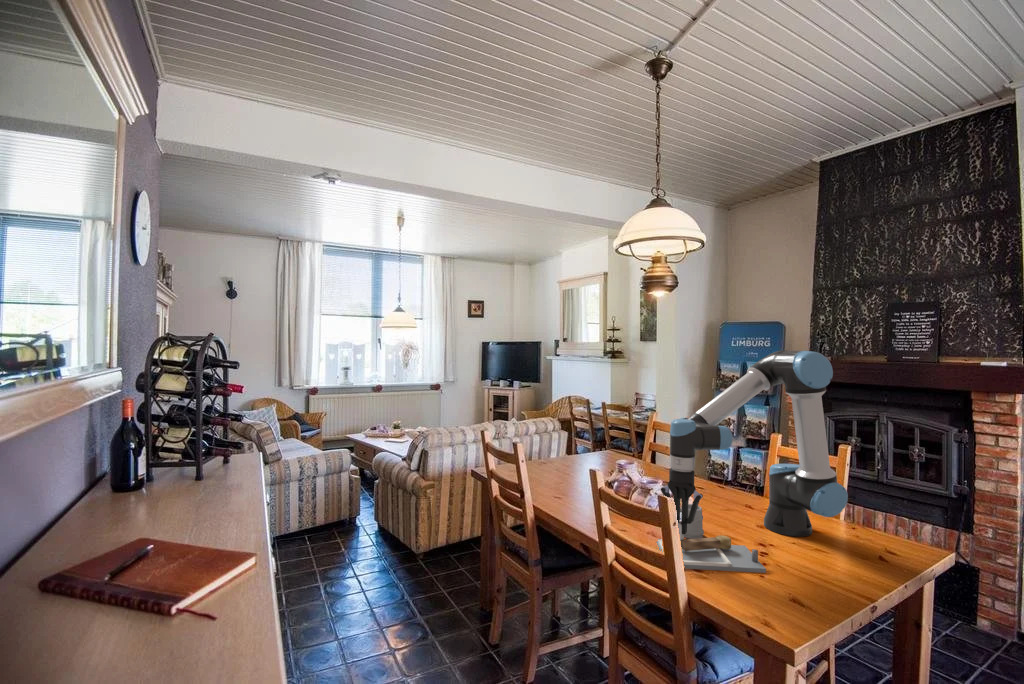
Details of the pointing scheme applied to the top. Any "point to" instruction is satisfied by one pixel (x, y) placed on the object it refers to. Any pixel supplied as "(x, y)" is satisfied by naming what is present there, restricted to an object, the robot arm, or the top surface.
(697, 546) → the bar
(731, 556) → the board
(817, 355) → the robot arm
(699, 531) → the mug
